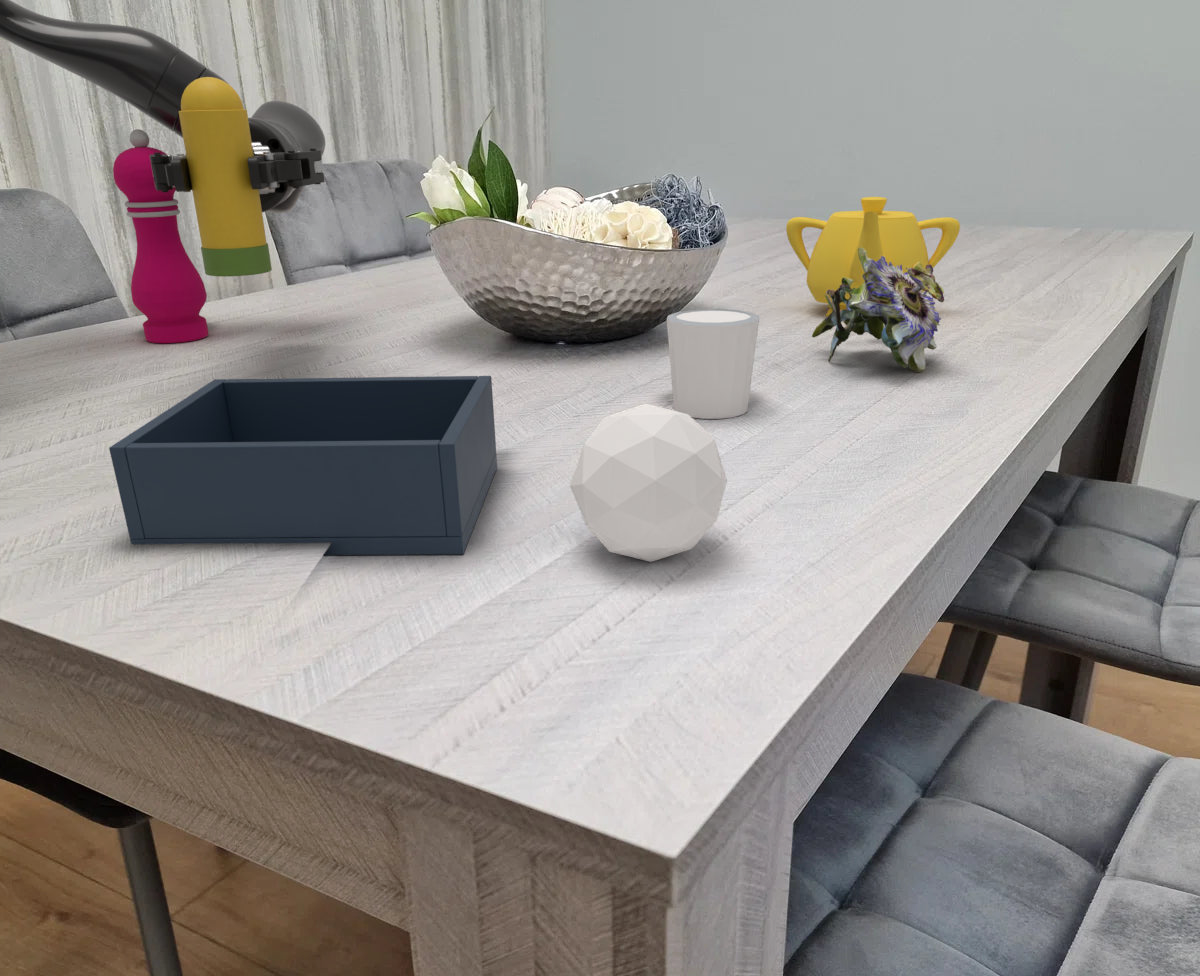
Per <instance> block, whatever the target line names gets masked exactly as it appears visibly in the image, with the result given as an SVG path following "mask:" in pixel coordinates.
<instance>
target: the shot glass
mask: <svg viewBox="0 0 1200 976" xmlns="http://www.w3.org/2000/svg"><path fill="white" fill-rule="evenodd" d="M759 324H760V315H758V314H757V313H754V312H750V311H745V310H738V309H728V308H702V309H701V308H700V309H690V310H683V311H677V312H673V313H671V314H668V315H667V317H666V325H667V326H666V329H667V340H668V341H667V342H668V352H669V353H668V354H669V365H670V376H671V377H670V378H671V390H672V400H673V401H672V402H673V410H674V411H678V412H681V413H685V414H688V415H689V416H690V417H692V418H693V419H694V418H696V419H701V420H702V419H703V420H706V419H707V420H720V419H731V418H734V417H739V416H742V415H744V414H745V413H748V409H749V400H750V392H751V385H752V378H753V370H754V363H755V356H756V355H755V354H756V348H757V342H758V341H757V339H758V331H759Z"/></svg>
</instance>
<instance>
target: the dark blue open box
mask: <svg viewBox="0 0 1200 976" xmlns="http://www.w3.org/2000/svg"><path fill="white" fill-rule="evenodd" d="M493 397H494V396H493V380H492V376H491V375H450V376H449V375H448V376H447V375H445V376H443V375H442V376H441V375H440V376H435V375H434V376H382V377H381V376H377V377H376V376H375V377H374V376H367V377H364V376H363V377H361V376H360V377H300V378H299V377H298V378H297V377H295V378H294V377H293V378H291V377H290V378H289V377H288V378H286V377H285V378H227V379H226V378H215V379H213V380H212V381H210V382H208V383H206V384H205V385H204V386H202V387H200V388H198V389H197V390H196V391H194V392H193V393H191V394H190V395H187V397H185V398H183V399H182V400H180V401H178V402H177V403H176V404H175V405H174V404H173V406H171V407H170V408H168V409H167V410H165V411H163V412H162V413H160V414H159V415H158V416H156V417H154V418H153V419H151V420H150V421H148V422H146V423H145V424H144V425H141V426H140V427H139V428H137V429H135V430H134V431H133V432H131V433H129V434H128V435H127V436H125V437H123V438H122V439H119V440H118V441H117V442H116V443H114V444H113V445H111V446H110V447H108V450H109V453H110V458H111V462H112V466H113V467H112V468H113V472H114V476H115V480H116V484H117V488H118V492H119V497H120V501H121V506H122V510H123V514H124V519H125V523H126V528H127V532H128V536H129V539H130V545H186V544H187V545H189V544H190V545H196V544H197V545H198V544H199V545H200V544H201V545H203V544H204V545H205V544H206V545H207V544H210V545H212V544H218V545H219V544H329V545H328V547H327V549H326V550H325V551H324V552H323V554H322V556H400V555H402V556H405V555H406V556H408V555H409V556H410V555H411V556H413V555H414V556H415V555H416V556H417V555H419V556H420V555H421V556H423V555H427V556H428V555H429V556H430V555H464V553H465V550H466V548H467V547H468V543H469V541H470V538H471V536H472V532H473V530H474V528H475V526H476V522H477V520H478V518H479V515H480V512H481V510H482V508H483V505H484V502H485V500H486V497H487V494H488V491H489V489H490V486H491V484H492V481H493V479H494V476H495V474H496V472H497V469H498V458H497V457H498V456H497V442H496V427H495V413H494V398H493Z"/></svg>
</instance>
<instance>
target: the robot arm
mask: <svg viewBox="0 0 1200 976" xmlns="http://www.w3.org/2000/svg"><path fill="white" fill-rule="evenodd" d="M0 38H2V39H3V40H5V41H7V42H9V43H11V44H13V45H15V46H17V47H18V48H21V49H23V50H25V51H27V52H29V53H31V54H33V55H34V56H37V57H39V58H41V59H43V60H45V61H47V62H50V63H52V64H54V65H56V66H58V67H59V68H62V69H64V70H66V71H69V72H70V73H72V74H75V75H76V76H79V77H80V78H82V79H85V80H86V81H88V82H89V83H90V82H91V83H92V84H94V85H96V86H98V87H100V88H101V89H103V90H106V91H107V92H109V93H111V94H113V95H114V96H116V97H118V98H120V99H121V100H122V101H124V102H126V103H128V104H129V105H131V106H132V107H134V108H136V109H137V110H139V111H140V112H142V113H143V114H145V115H146V116H148V117H150V118H151V119H152V120H154V121H155V122H157V123H159V124H160V125H162V126H163V127H165V128H167V129H168V130H169V131H171V132H173V133H174V134H176V135H178V136H179V137H180V138H182V139H183V134H182V128H181V123H180V117H179V111H181V99H182V95H183V93H184V90H185V89H186V87H187V86H188V85H189V84H190V83H191V82H193V81H194V80H196V79H199V78H203V77H213V78H217V79H220V80H222V81H224V82H226V83H228V84H229V82H227V80H225V79H224V78H223V77H221V76H220V75H219V74H217V73H216V72H215V71H212V70H211V69H210V68H207V66H205V65H204V64H202V63H201V62H200V61H198V60H197V59H195V58H193V57H192V56H191V55H189V54H188V53H186V52H185V51H184V50H181V49H180V48H179V47H178V46H176V45H174V44H173V43H172V42H170V41H168V40H166V39H164V38H163V37H162V36H160V35H157V34H155V33H153V32H151V31H147V30H145V29H141V28H137V27H133V26H130V25H129V26H128V25H120V24H110V23H96V22H95V23H93V22H82V21H72V20H66V19H59V18H54V17H50V16H47V15H43V14H40V13H38V12H34V11H32V10H30V9H28V8H25V7H23V6H22V5H20V4H18V3H16V2H14V1H13V0H0ZM248 121H249V128H250V135H251V142H252V148H253V155H254V156H252V157H248V167H249V174H250V180H251V186H252V189H259V195H260V202H261V209H262V213H265V212H268V213H272V214H284V213H288V212H290V211H291V210H292V209H293V208H294V207H295V205H296V204H297V202H298V201H299V199H300V197H301V195H302V193H303V192H304V190H305V188H306V186H311V185H321V183H325V174H324V165H323V154H324V152H325V150H326V137H325V134H324V132H323V129H322V128H321V125H320V124H319V123H318V121H317V120H316V119H315V118H314V117H313V116H312V115H311V114H309V113H308V112H307V111H306V110H305V109H303V108H301V107H299V106H298V105H296V104H293V103H290V102H286V101H282V100H269V101H266V102H264V103H262V104H261V105H260V106H259V107H258V108H257V109H256V110H255V111H254V113H253V114H252V116H251V117H248ZM149 156H150V162H151V167H152V172H153V177H154V183H155V188H156V190H157V191H162V192H169V191H168V190H173V187H175V189H176V191H175V192H177V193H180V192H181V193H191V191H192V186H191V180H190V175H189V169H188V163H187V157H186V154H185V153H177V154H176V155H172V154H167V155H165V154H160V153H154V155H149Z"/></svg>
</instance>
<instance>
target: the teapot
mask: <svg viewBox="0 0 1200 976" xmlns="http://www.w3.org/2000/svg"><path fill="white" fill-rule="evenodd" d="M887 200H888V198H887V197H884V196H865V197H861V198H860V204H861V207H862V210H847V211H846V210H845V211H844V210H843V211H835V212H832V214H831V215H829V218H828V220H822V219H817V218H813V217H807V216H796V217H792V218H790V219H789V220H788V221H787V223H786V227H785V229H786V236H787V240H788V242H789V244H790V247H791V248H792V250H793V251H794V253H795V255H796V256H797V258H798V259H799V261H800V263H801V264H802V265H803V267H804V268H805V271H806V273H807V274H806V284H807V287H808V289H809V292H810V294H811V295H812V297H813V298H814V300H815V301H816V302H818V303H822V304H825V305H826V304H827V308H829V309H828V310H827V312H826V314H825V318H827V317H828V316H829V315H830V314H831V313H832V311H833V310H832V308H831V307H830V305H829V304H828V301H827V299H826V297H825V295H826V292H827V290H829V289H830V290H834V291H836V290H837V289H838V288H840V285H842V278H844V277H846V278H847V279H852V280H854V281H853V283H852V284H851V286H850V287H851V289H853V288H855V289H857V288H859V287H860V286H861V285H862V284H863V283H864V282H865V280H864V279H863V274H864V273H865V272H864V270H863V268H862V265H861V262H860V259H859V255H858V248H859V247H860V248H863V249H865V251H866V252H867V254H866V255H867V256H868V258H869V259H873V260H874V261H875V262H877V261H878V260H879V259H881V256H883V257H885V260H886V262H887V264H888V265H889V262H891V263H892V265H893V267H896V266H897V265H898V266H899V268H900V265H902V271H903V274H904V273H905V272H907V273H908V268H912V266H913V265H914V264H915V263H917V262H921V264H922V268H924V269H925V268H926V265H931V266H932V267H933V269H934V268H935V267H936V266H937V265H938V263H940V261H941V260H942V259H943V258H944V257H945V256H946V255H947V253H948V252H949V251H950V249H951V248H952V247H953V245H954V244H955V242H956V241H957V238H958V236H959V233H960V230H961V224H960V221H959V220H958V219H956V218H954V217H948V216H947V217H946V216H945V217H934V218H929V219H925V220H921V221H918V220H917V218H916V217H917V216H916V215H915V214H914V213H913V212H910V211H901V210H885V209H884V208H885V206H886V205H887ZM805 228H813V229H819V230H821V232H820V234H819V236H818V238H817V239H816V242H815V244H814V246H813V250H812V252H811V255H810V257H809V254H808V252H807V250H806V247H805V243H804V240H803V239H804V238H803V230H804V229H805ZM935 228H936V229H940V230H941V237H940V240H939V242H938V245H937V247H936V248H935V250H934V252H933V253H932V255H931V257H930V258H929V253H928V249H927V245H926V241H925V238H924V234H923V232H922V230H927V229H935ZM906 268H907V269H906ZM922 292H925V291H923V290H922ZM827 295H828V296H829V298H830V301H831V302H832V299H831V297H830V295H829V294H827ZM845 298H846V299H849V298H850V295H849V293H846V294H845ZM839 305H840V310H843V309H847V306H846V304H845V303H843V302H841V303H840V304H839Z"/></svg>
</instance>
